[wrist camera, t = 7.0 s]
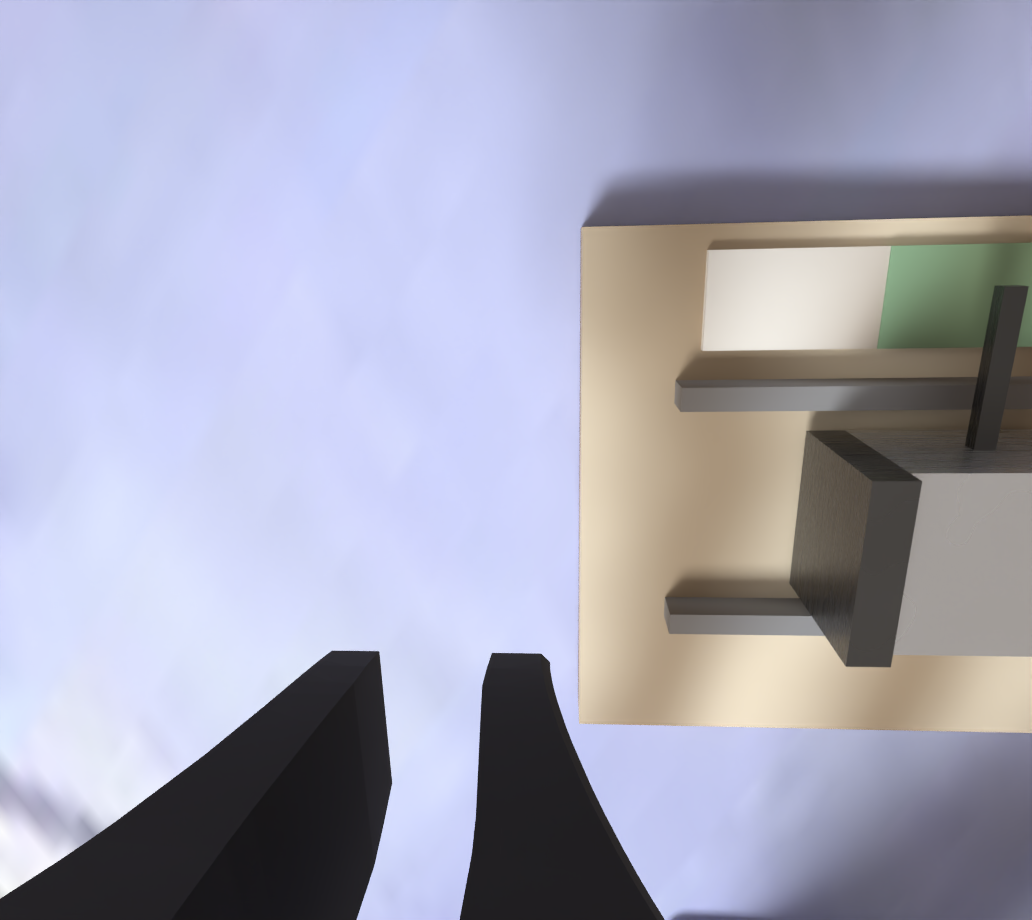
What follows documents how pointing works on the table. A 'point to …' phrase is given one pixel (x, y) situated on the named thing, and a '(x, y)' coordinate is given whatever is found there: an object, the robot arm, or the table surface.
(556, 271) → the table surface
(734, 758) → the table surface
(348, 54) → the table surface
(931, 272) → the bench
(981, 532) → the block with upright rod
